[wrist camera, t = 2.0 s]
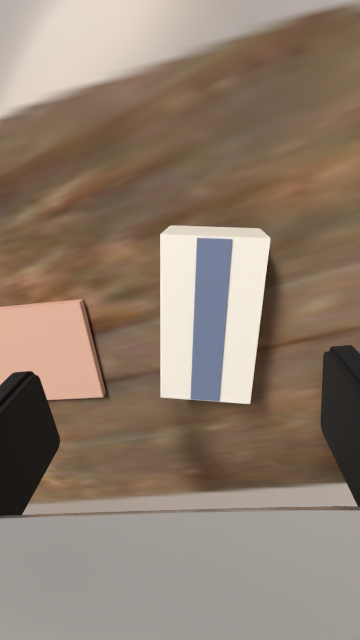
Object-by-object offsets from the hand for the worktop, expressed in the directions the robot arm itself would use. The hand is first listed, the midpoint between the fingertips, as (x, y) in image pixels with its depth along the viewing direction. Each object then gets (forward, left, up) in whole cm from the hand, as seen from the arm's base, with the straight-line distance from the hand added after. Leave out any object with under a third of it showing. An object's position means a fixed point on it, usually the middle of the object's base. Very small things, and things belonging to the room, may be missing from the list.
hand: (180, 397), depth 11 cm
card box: (-1, 0, -10) cm, 10 cm away
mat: (+14, +3, -10) cm, 18 cm away
